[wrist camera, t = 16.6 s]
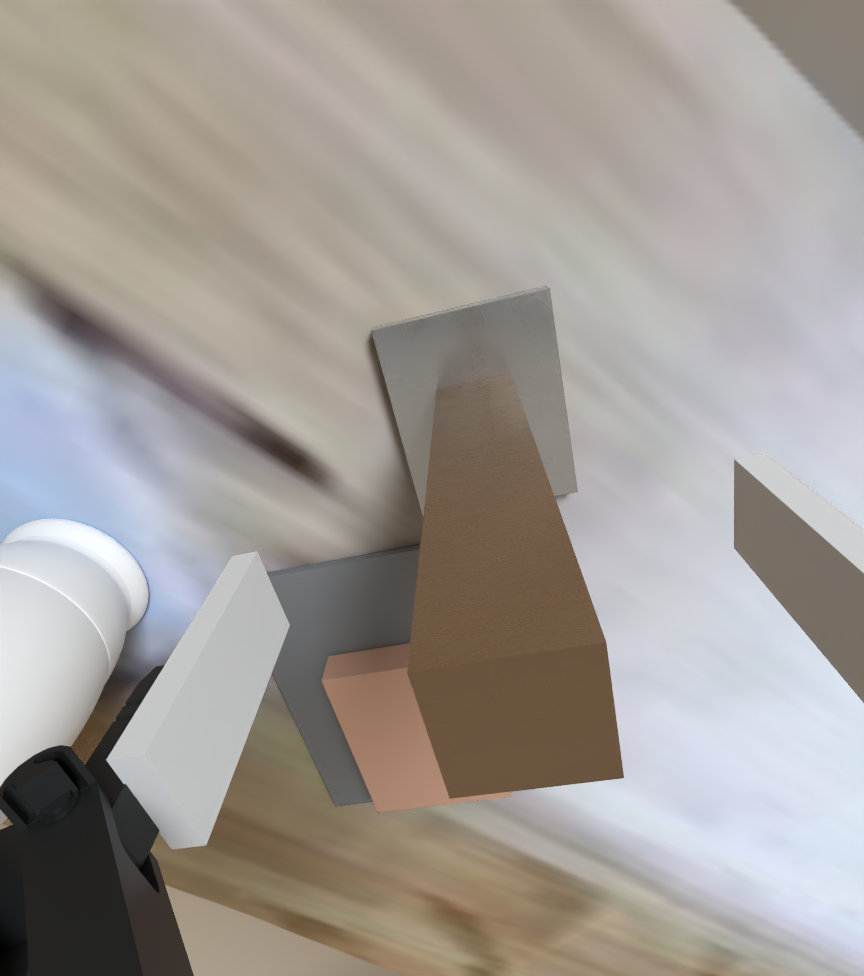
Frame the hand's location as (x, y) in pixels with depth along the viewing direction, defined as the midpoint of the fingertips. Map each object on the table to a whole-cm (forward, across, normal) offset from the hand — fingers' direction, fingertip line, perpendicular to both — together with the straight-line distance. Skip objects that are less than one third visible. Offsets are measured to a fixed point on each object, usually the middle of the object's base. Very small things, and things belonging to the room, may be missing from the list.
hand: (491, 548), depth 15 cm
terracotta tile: (+11, -7, -14) cm, 19 cm away
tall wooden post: (+13, 0, 0) cm, 13 cm away
